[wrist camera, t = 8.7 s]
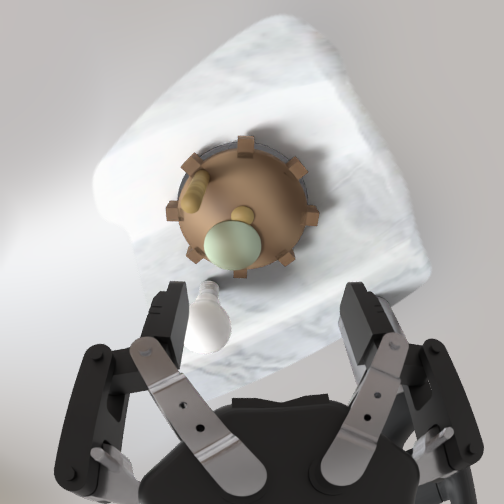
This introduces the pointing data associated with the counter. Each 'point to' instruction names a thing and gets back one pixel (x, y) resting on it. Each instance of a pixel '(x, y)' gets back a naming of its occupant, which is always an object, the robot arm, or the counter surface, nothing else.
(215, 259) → the sprocket
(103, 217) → the counter surface
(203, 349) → the lightbulb
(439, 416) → the robot arm
